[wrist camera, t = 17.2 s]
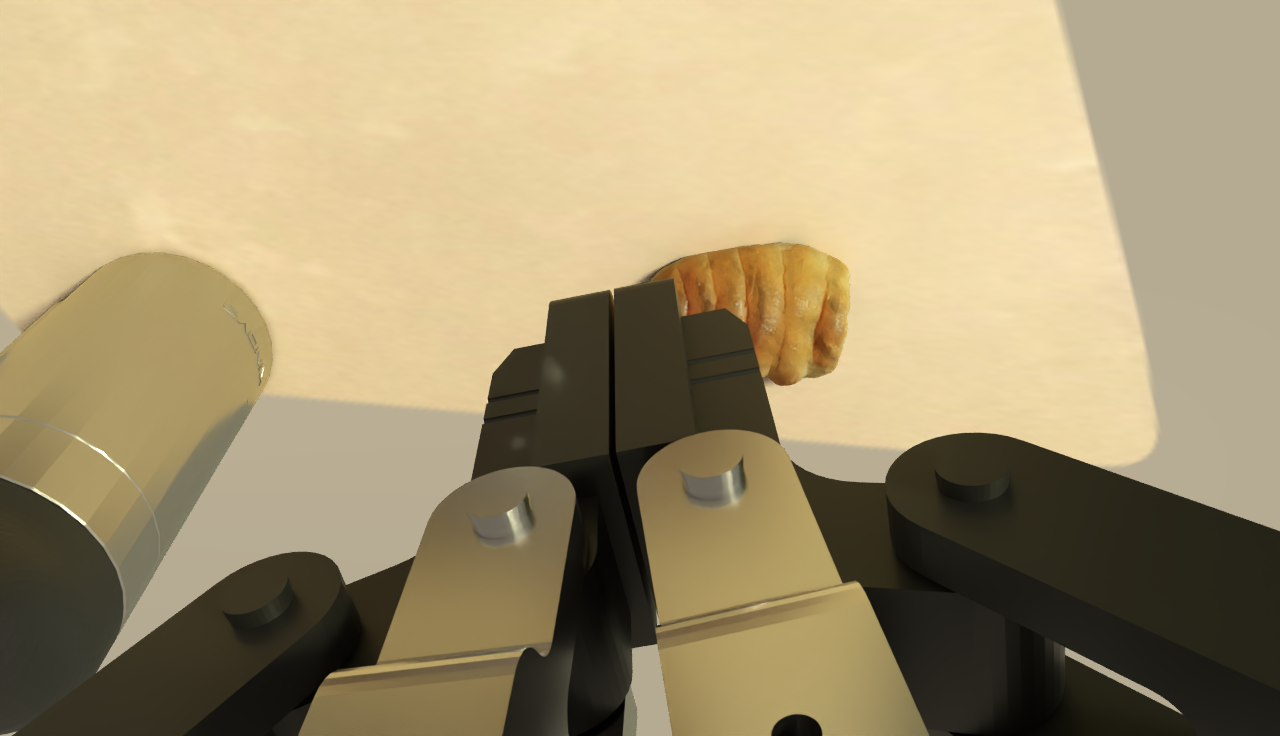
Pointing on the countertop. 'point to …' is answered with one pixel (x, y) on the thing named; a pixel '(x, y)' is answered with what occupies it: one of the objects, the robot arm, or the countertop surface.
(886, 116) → the countertop surface
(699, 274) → the pastry
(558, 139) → the countertop surface
